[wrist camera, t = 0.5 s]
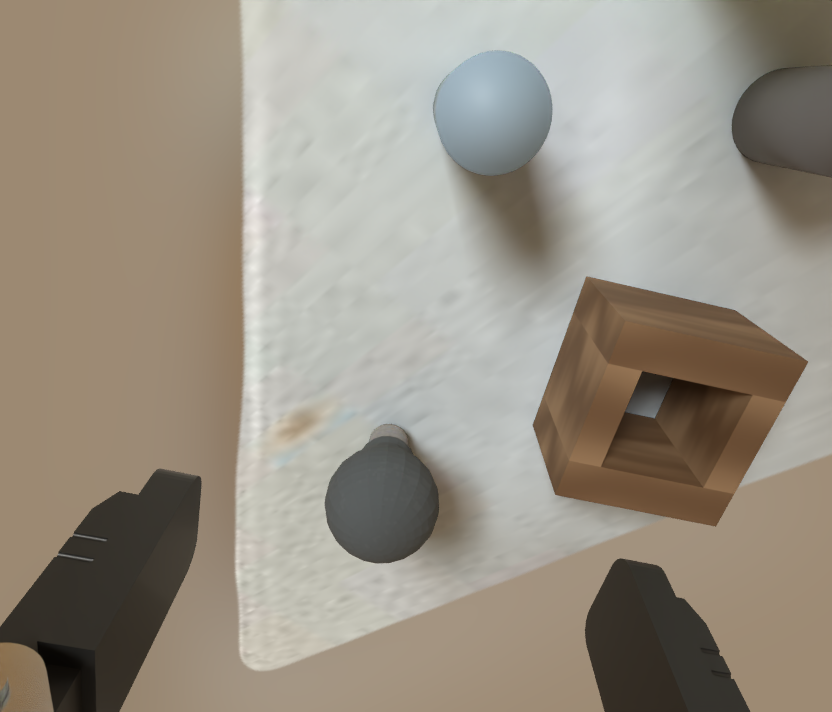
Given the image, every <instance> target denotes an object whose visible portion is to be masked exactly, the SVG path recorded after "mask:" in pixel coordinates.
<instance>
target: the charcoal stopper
mask: <svg viewBox="0 0 832 712" xmlns="http://www.w3.org/2000/svg"><path fill="white" fill-rule="evenodd" d="M732 135H733V139H734V142H735V144H736V146H737V148H738V149H739V151H740V152H741V153H742V154H743V155H744V156H746V157H747V158H749V159H751V160H753V161H756V162H761V163H765V164H770V165H775V166H780V167H785V168H789V169H794V170H799V171H804V172H808V173H813V174H818V175H823V176H827V177H832V65H827V66H812V67H797V68H784V69H778V70H774V71H772V72H769V73H767V74H765V75H763V76H762V77H760V78H759V79H757V80H756V81H755V82H754V83H752V84H751V85H750V86H749V87H748V89H747V90H746V91H745V92H744V94H743V95H742V97H741V98H740V100H739V102H738V104H737V106H736V108H735V111H734V115H733V119H732Z"/></svg>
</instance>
